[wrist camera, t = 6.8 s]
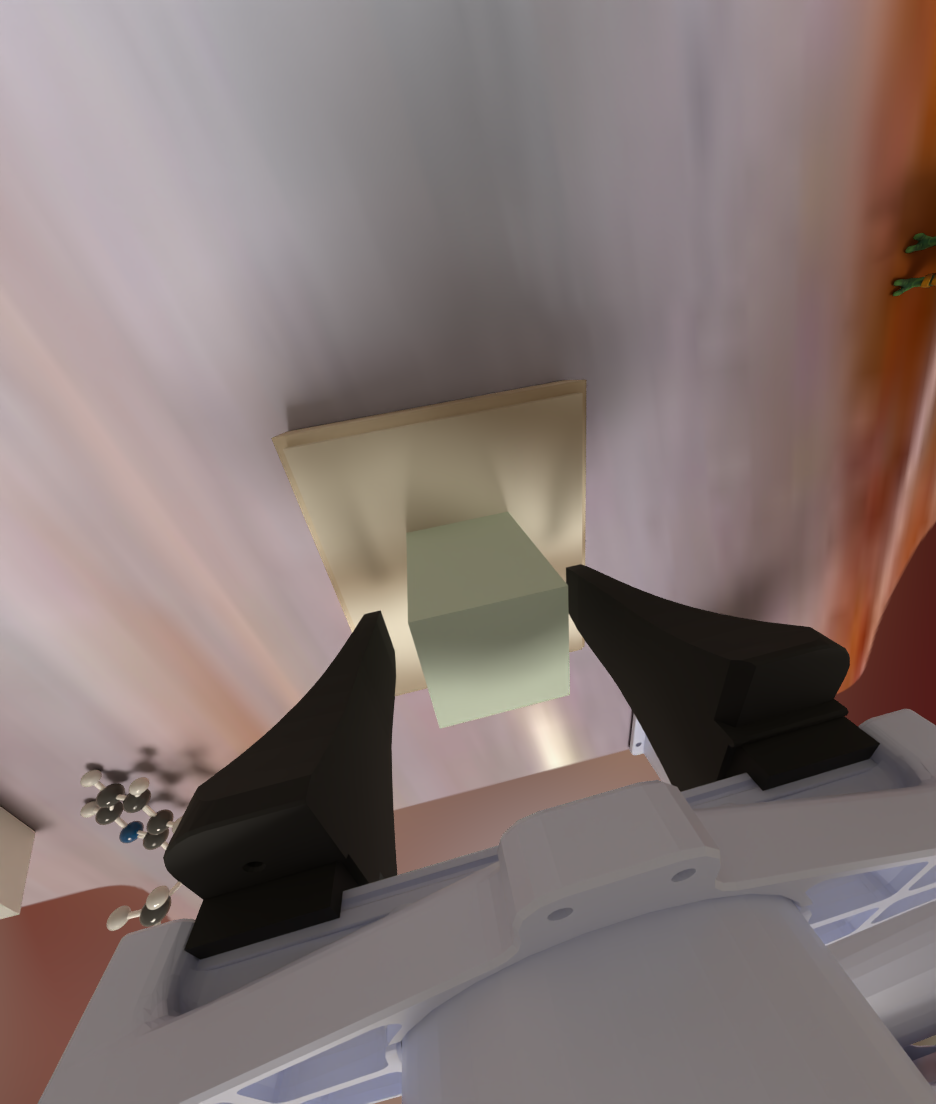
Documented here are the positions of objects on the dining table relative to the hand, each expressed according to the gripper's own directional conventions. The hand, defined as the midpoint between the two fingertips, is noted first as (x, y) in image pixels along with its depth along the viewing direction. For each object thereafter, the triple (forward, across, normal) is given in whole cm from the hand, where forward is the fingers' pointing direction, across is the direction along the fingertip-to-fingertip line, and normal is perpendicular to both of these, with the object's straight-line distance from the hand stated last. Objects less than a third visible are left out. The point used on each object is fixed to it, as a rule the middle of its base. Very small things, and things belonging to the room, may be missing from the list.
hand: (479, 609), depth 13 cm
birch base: (+5, 0, 0) cm, 5 cm away
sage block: (+3, 0, 0) cm, 3 cm away
